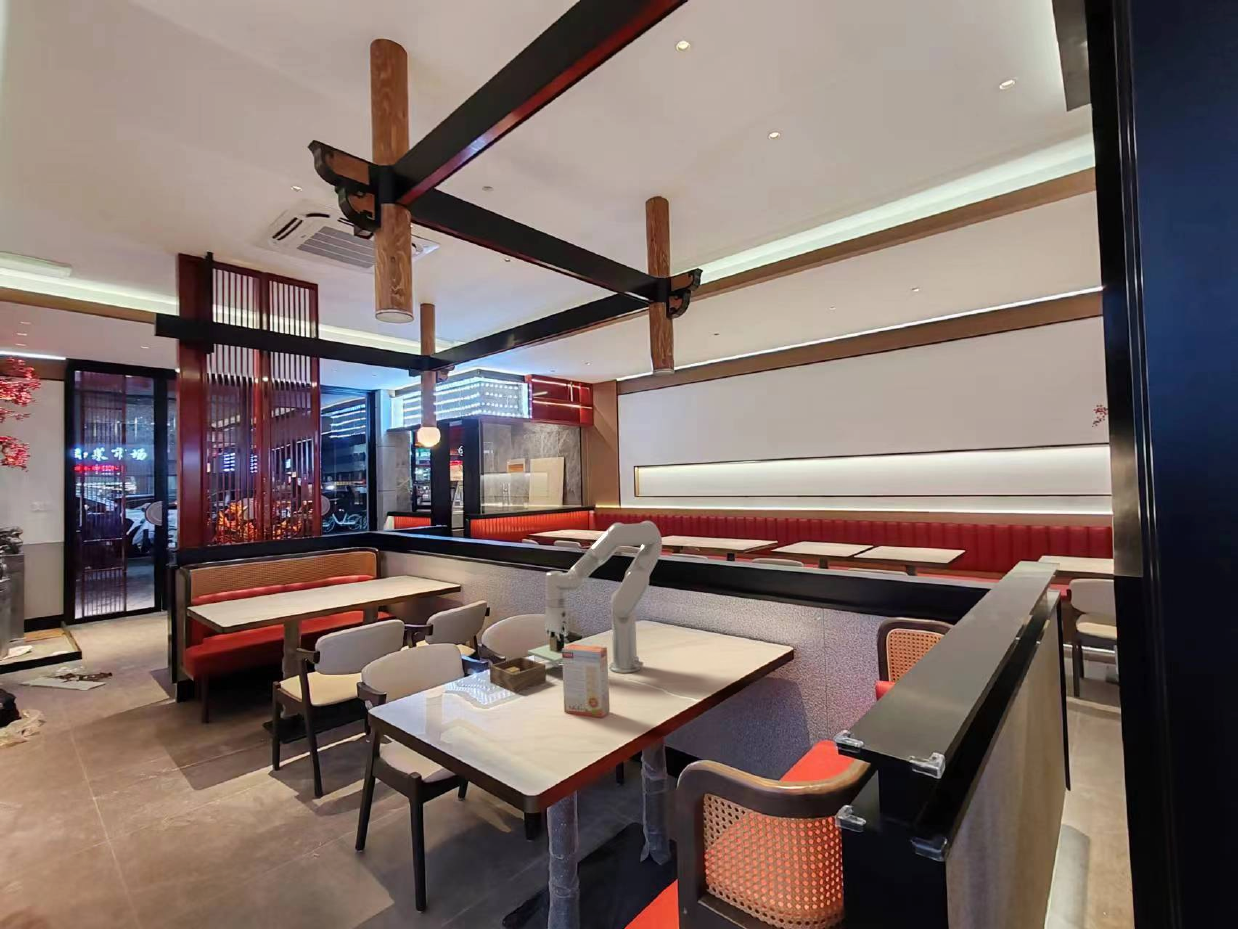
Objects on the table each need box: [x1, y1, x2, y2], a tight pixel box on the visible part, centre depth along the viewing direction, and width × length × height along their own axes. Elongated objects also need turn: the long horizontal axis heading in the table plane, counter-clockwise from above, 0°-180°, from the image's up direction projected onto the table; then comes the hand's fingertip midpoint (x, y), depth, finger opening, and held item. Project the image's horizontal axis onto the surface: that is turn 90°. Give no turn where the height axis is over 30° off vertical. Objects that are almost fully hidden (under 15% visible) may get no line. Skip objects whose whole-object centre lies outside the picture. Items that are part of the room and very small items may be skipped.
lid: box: [526, 635, 569, 663], centre depth 221 cm, size 18×16×7 cm
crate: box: [489, 656, 547, 694], centre depth 207 cm, size 16×14×7 cm
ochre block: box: [505, 667, 520, 674], centre depth 210 cm, size 4×4×4 cm
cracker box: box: [562, 643, 611, 719], centre depth 180 cm, size 14×6×21 cm, turn 65°
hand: (557, 648), depth 221 cm, fingers closed on lid, 4 cm apart
